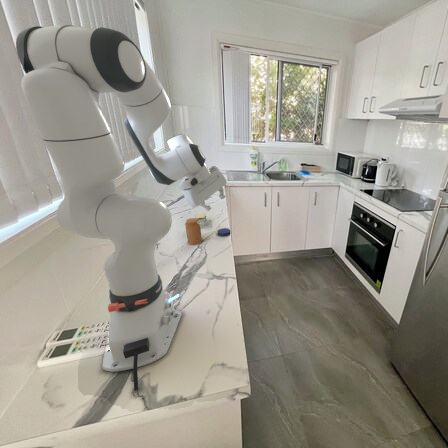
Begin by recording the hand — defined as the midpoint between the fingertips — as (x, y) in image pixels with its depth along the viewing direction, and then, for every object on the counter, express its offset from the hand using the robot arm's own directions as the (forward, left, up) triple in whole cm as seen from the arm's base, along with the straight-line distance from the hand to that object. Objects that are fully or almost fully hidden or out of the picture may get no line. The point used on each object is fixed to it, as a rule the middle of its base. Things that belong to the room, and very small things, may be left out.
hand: (216, 203), depth 105 cm
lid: (+16, -3, -21) cm, 27 cm away
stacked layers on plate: (+32, +9, -22) cm, 40 cm away
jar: (+11, +12, -22) cm, 28 cm away
